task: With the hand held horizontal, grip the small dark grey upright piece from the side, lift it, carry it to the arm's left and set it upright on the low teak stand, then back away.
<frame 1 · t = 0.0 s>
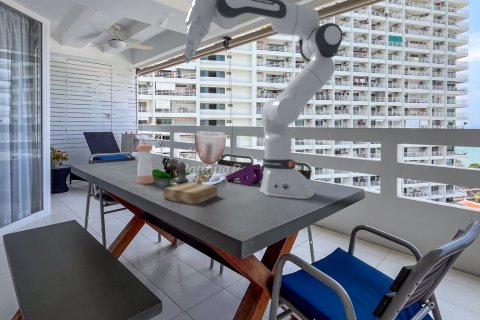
hand: (186, 59, 103), 52 cm above the table, tool tilted 20°, fingers open, 8 cm apart
salt shaker 2: (145, 182, 131), on the table
dark grey upright piece: (182, 188, 120), on the table
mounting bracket: (242, 183, 135), on the table
stand: (191, 197, 104), on the table
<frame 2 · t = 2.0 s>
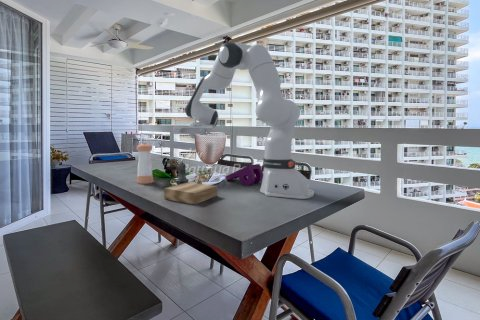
hand: (189, 130, 129), 25 cm above the table, tool horizontal, fingers open, 8 cm apart
nothing on the table moved.
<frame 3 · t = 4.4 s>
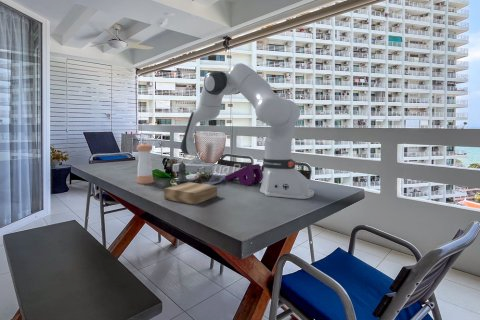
hand: (189, 170, 129), 6 cm above the table, tool horizontal, fingers open, 8 cm apart
nothing on the table moved.
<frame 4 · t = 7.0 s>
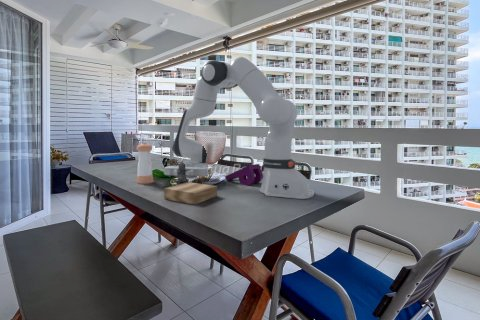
hand: (181, 173, 118), 7 cm above the table, tool horizontal, fingers closed on dark grey upright piece, 4 cm apart
dark grey upright piece: (182, 188, 120), on the table, touching gripper
everything else where it was.
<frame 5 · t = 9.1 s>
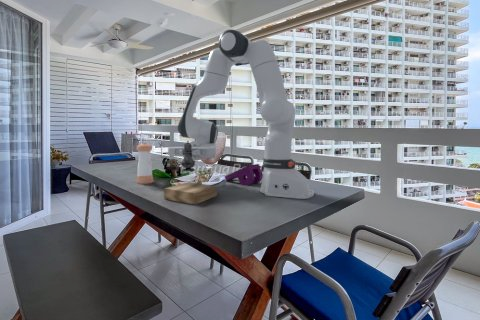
hand: (187, 153, 107), 16 cm above the table, tool horizontal, fingers closed on dark grey upright piece, 4 cm apart
dark grey upright piece: (188, 170, 109), point 9 cm above the table, touching gripper
everything else where it was.
when the fingers open (12 cm above the table, at t = 11.1 s): dark grey upright piece stays where it is, resting on stand.
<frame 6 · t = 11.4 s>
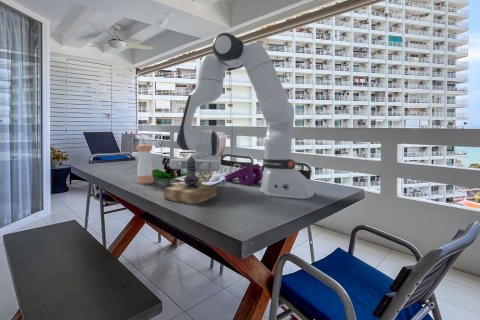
hand: (190, 166, 101), 12 cm above the table, tool horizontal, fingers open, 7 cm apart
dark grey upright piece: (191, 187, 103), point 4 cm above the table, touching stand
everything else where it was.
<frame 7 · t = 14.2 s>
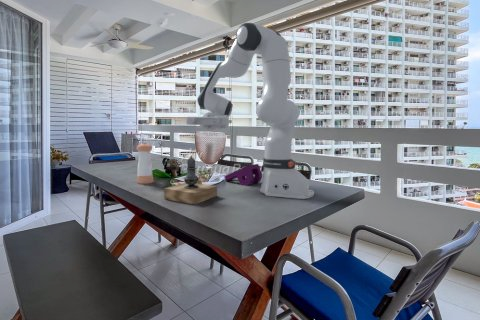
hand: (204, 120, 122), 30 cm above the table, tool horizontal, fingers open, 8 cm apart
nothing on the table moved.
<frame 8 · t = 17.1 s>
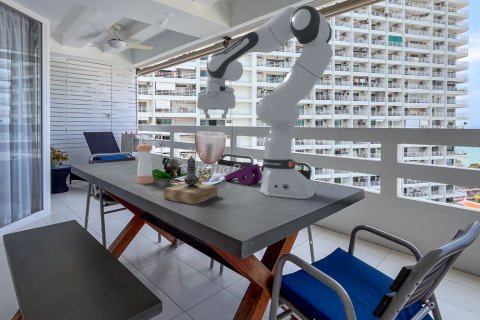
hand: (215, 118, 132), 31 cm above the table, tool pointing down, fingers open, 8 cm apart
nothing on the table moved.
at the end: dark grey upright piece inside the target area on the stand (0.1 cm from its centre), point 3.8 cm above the stand's base; dark grey upright piece tilted 0°; the gripper is holding nothing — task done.
